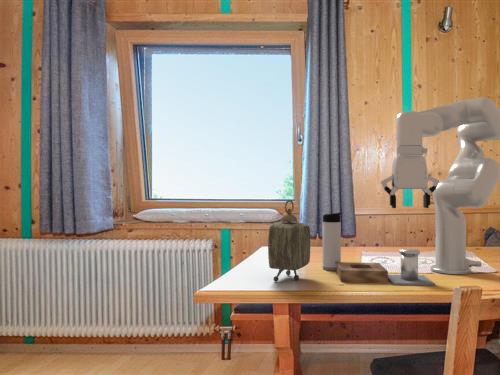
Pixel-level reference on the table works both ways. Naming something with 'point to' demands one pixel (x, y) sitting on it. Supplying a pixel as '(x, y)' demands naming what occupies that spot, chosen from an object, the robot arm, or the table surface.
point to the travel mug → (331, 241)
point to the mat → (420, 282)
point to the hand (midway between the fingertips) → (409, 207)
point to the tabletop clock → (288, 244)
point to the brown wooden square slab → (361, 272)
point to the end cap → (409, 264)
